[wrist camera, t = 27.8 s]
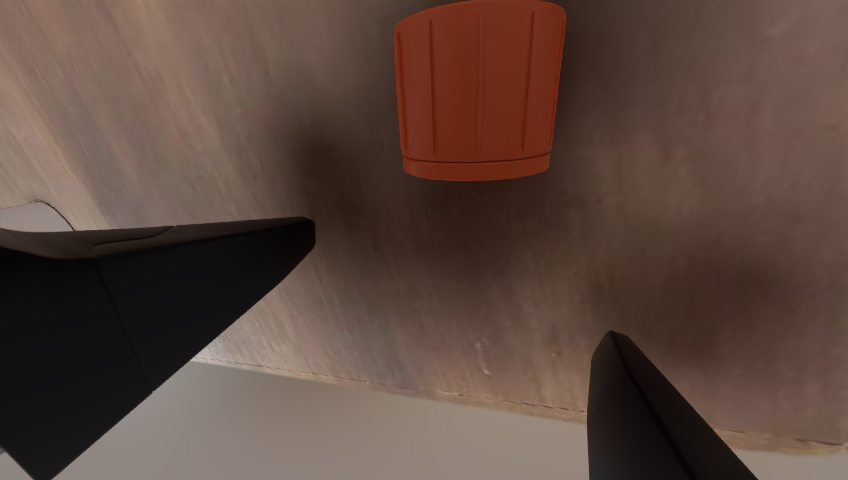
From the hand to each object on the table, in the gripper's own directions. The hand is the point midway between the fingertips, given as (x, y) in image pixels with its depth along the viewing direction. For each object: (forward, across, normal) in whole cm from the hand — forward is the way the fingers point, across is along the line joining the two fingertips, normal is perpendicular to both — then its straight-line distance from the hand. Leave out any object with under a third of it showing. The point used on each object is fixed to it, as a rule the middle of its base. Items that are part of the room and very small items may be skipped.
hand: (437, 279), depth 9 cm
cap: (+1, +1, -6) cm, 7 cm away
